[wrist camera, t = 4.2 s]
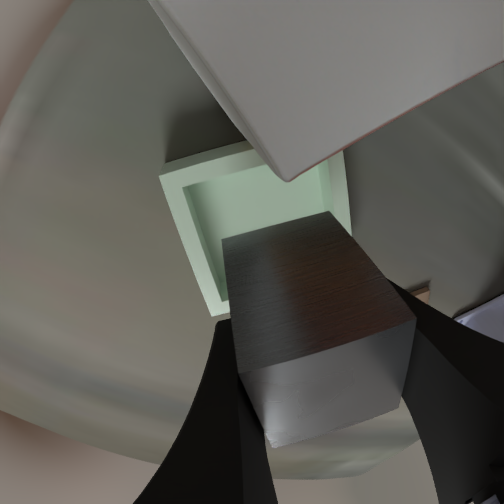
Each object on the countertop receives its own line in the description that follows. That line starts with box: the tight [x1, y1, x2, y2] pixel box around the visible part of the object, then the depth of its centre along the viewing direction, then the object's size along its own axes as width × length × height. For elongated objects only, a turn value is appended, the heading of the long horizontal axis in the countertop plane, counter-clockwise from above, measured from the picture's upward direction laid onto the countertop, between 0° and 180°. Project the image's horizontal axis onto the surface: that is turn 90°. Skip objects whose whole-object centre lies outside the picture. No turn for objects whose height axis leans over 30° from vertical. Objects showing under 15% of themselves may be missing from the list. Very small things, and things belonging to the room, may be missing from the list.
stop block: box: [221, 211, 417, 448], centre depth 10 cm, size 4×4×6 cm
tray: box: [159, 140, 352, 316], centre depth 16 cm, size 8×8×2 cm
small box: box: [148, 0, 504, 182], centre depth 8 cm, size 8×6×10 cm
